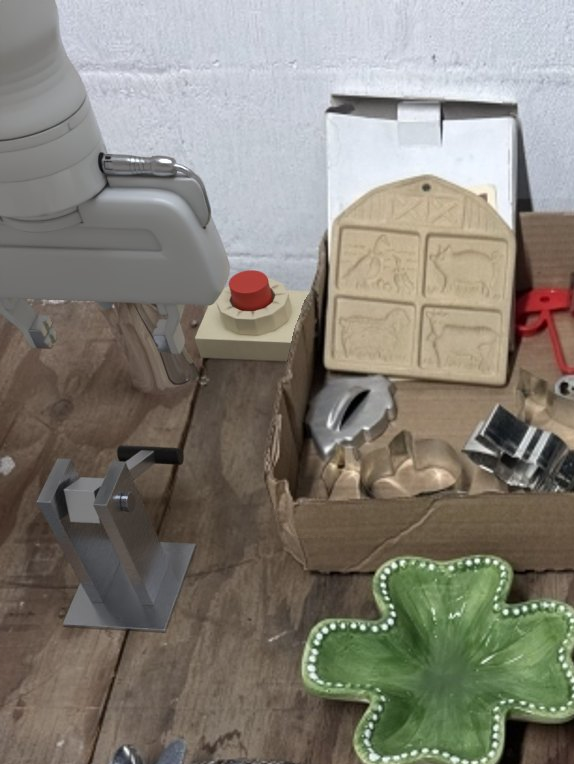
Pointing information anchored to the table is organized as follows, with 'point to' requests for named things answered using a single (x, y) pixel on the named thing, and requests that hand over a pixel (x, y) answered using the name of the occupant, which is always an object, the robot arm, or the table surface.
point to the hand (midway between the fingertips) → (108, 346)
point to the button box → (250, 327)
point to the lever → (87, 489)
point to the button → (250, 290)
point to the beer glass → (147, 348)
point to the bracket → (115, 555)
